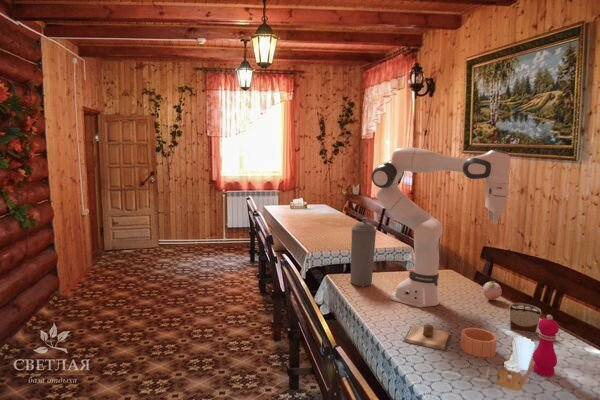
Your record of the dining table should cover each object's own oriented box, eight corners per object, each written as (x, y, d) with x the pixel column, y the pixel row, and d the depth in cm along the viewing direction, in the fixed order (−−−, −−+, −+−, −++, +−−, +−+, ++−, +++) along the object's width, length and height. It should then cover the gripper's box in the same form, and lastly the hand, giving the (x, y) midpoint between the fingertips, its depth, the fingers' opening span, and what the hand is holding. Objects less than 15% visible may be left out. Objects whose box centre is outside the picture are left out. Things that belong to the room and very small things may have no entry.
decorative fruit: (501, 305, 215) (503, 284, 213) (482, 302, 217) (484, 282, 216) (499, 298, 223) (501, 278, 222) (481, 296, 226) (483, 276, 225)
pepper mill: (526, 366, 156) (532, 310, 154) (546, 366, 157) (553, 310, 154) (539, 377, 149) (546, 319, 146) (560, 377, 150) (567, 319, 147)
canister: (345, 279, 244) (349, 215, 239) (368, 279, 247) (372, 215, 242) (352, 287, 232) (356, 220, 227) (376, 287, 234) (380, 220, 229)
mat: (402, 343, 171) (402, 342, 171) (410, 327, 185) (410, 326, 185) (446, 353, 164) (446, 351, 164) (452, 336, 179) (452, 334, 179)
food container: (537, 328, 189) (540, 305, 187) (539, 334, 183) (542, 310, 182) (505, 323, 193) (507, 300, 191) (506, 329, 187) (508, 305, 186)
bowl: (458, 353, 164) (460, 337, 164) (462, 340, 175) (463, 325, 174) (494, 361, 159) (496, 344, 159) (496, 347, 170) (497, 332, 169)
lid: (405, 341, 171) (406, 329, 171) (412, 327, 184) (413, 316, 183) (444, 350, 165) (445, 337, 165) (449, 335, 178) (450, 323, 177)
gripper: (483, 186, 201) (480, 217, 203) (492, 191, 181) (489, 225, 183) (498, 187, 200) (495, 218, 202) (509, 192, 180) (505, 226, 182)
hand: (492, 221), depth 192 cm, fingers open, 8 cm apart
